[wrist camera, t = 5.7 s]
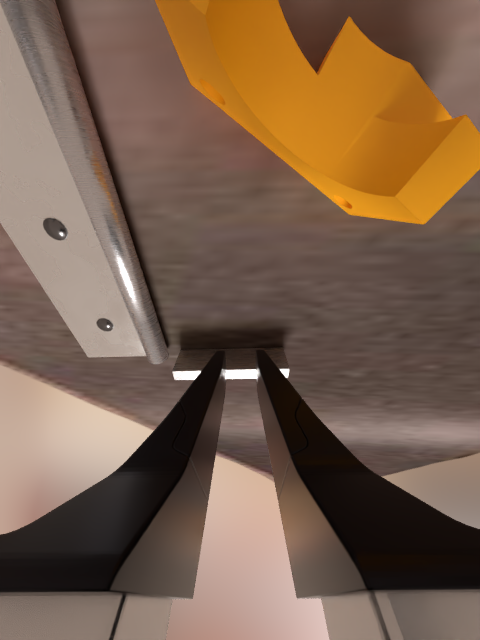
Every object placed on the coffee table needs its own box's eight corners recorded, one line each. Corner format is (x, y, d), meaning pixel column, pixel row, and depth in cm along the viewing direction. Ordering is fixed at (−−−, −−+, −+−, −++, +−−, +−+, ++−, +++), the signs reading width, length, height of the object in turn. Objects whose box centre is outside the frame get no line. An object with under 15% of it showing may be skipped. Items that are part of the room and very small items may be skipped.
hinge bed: (348, -156, 7) (415, -373, 4) (281, 355, 20) (288, 377, 18) (-203, -125, 7) (-455, -311, 4) (98, 360, 21) (78, 382, 18)
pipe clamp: (404, 143, 11) (560, 89, 6) (348, 214, 13) (423, 224, 8) (229, -51, 8) (206, -614, 2) (190, 85, 10) (131, -56, 4)
